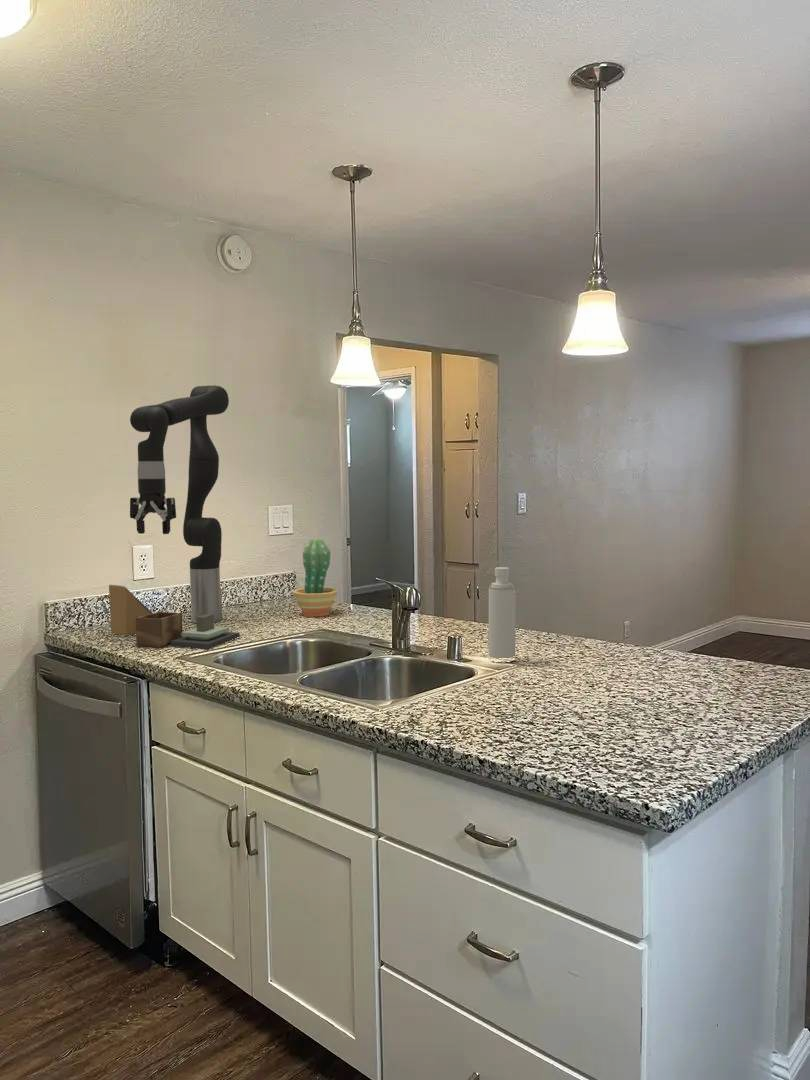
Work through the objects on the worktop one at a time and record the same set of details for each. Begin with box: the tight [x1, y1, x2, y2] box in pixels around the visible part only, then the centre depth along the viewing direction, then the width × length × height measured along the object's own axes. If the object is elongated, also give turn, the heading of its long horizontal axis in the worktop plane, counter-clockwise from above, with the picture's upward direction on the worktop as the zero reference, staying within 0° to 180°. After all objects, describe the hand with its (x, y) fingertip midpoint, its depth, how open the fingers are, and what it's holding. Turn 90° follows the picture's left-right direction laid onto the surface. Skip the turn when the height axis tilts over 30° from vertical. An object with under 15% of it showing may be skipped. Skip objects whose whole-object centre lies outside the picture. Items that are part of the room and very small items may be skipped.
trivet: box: [170, 631, 240, 650], centre depth 230 cm, size 16×12×2 cm
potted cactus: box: [292, 539, 339, 617], centre depth 271 cm, size 15×15×25 cm
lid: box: [181, 614, 230, 640], centre depth 230 cm, size 11×9×6 cm
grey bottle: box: [488, 566, 517, 658], centre depth 205 cm, size 7×7×25 cm
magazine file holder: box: [108, 584, 153, 637], centre depth 246 cm, size 9×15×15 cm, turn 141°
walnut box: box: [135, 611, 184, 649], centre depth 228 cm, size 10×8×8 cm
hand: (153, 533), depth 236 cm, fingers open, 8 cm apart
